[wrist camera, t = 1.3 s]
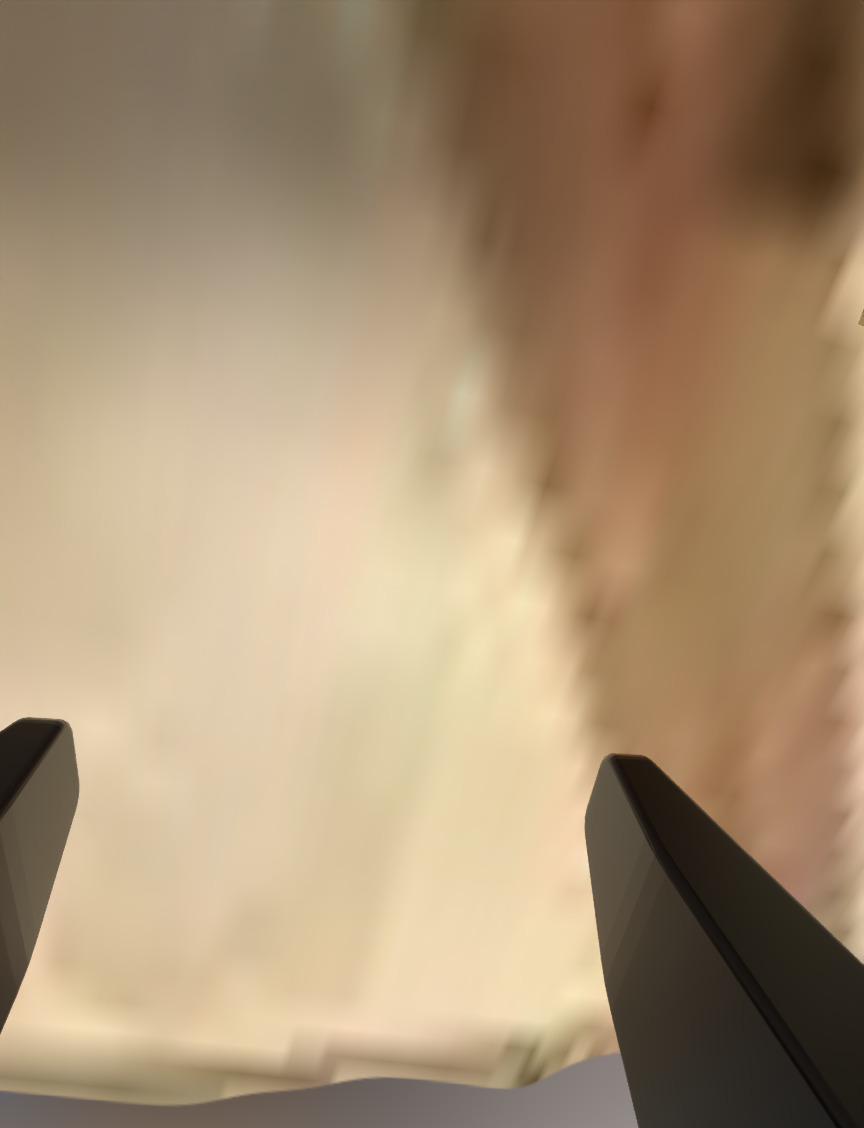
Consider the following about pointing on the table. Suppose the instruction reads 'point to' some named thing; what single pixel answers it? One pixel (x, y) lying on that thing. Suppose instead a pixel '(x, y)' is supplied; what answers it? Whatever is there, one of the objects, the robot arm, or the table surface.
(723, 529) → the table surface
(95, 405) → the table surface
